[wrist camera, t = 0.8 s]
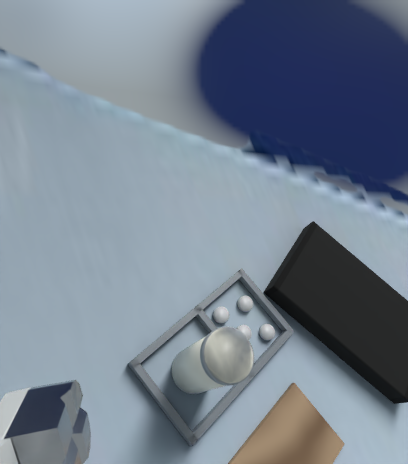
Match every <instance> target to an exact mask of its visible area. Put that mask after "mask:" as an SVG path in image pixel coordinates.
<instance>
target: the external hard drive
mask: <svg viewBox="0 0 408 464" xmlns="http://www.w3.org/2000/svg"><path fill="white" fill-rule="evenodd" d="M264 293H265V294H266V295H267V296H268V297H269V298H270V299H272V300H273V301H274V302H275V303H276V304H277V305H279V306H280V307H281V308H282V309H283V310H285V311H286V312H287V313H288V314H289V315H290V316H292V317H293V318H294V319H295V320H296V321H297V322H299V323H300V324H301V325H302V326H303V327H305V328H306V329H307V330H308V331H309V332H310V333H312V334H313V335H314V336H315V337H316V338H317V339H319V340H320V341H321V342H322V343H323V344H325V345H326V346H327V347H328V348H329V349H330V350H332V351H333V352H334V353H335V354H336V355H337V356H339V357H340V358H341V359H342V360H343V361H345V362H346V363H347V364H348V365H349V366H350V367H352V368H353V369H354V370H355V371H356V372H357V373H359V374H360V375H361V376H362V377H363V378H365V379H366V380H367V381H368V382H369V383H370V384H372V385H373V386H374V387H375V388H376V389H377V390H379V391H380V392H381V393H382V394H383V395H385V396H386V397H387V398H388V399H389V400H390V401H392V402H393V403H394V404H395V403H405V402H408V301H407V300H406V299H405V298H404V297H403V296H401V295H400V294H399V293H398V292H397V291H395V290H394V289H393V288H392V287H391V286H389V285H388V284H387V283H386V282H385V281H384V280H382V279H381V278H380V277H379V276H378V275H376V274H375V273H374V272H373V271H372V270H371V269H369V268H368V267H367V266H366V265H365V264H363V263H362V262H361V261H360V260H359V259H357V258H356V257H355V256H354V255H353V254H352V253H350V252H349V251H348V250H347V249H346V248H344V247H343V246H342V245H341V244H340V243H339V242H337V241H336V240H335V239H334V238H333V237H331V236H330V235H329V234H328V233H327V232H325V231H324V230H323V229H322V228H321V227H320V226H318V225H317V224H316V223H315V222H314V221H313V222H311V223H310V224H309V225H308V226H306V227H305V228H304V229H303V231H302V232H301V234H300V235H299V237H298V239H297V240H296V242H295V243H294V245H293V247H292V248H291V250H290V251H289V253H288V254H287V256H286V258H285V259H284V261H283V262H282V264H281V266H280V267H279V269H278V270H277V272H276V274H275V275H274V277H273V278H272V280H271V281H270V283H269V285H268V286H267V288H266V289H265V291H264Z"/></svg>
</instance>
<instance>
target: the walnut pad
mask: <svg viewBox="0 0 408 464" xmlns="http://www.w3.org/2000/svg"><path fill="white" fill-rule="evenodd" d="M343 446H344V443H343V441H342V440H341V439H340V438H339V436H338V435H337V434H336V433H335V432H334V430H333V429H332V428H331V427H330V425H329V424H328V423H327V422H326V421H325V419H324V418H323V417H322V416H321V415H320V413H319V412H318V411H317V410H316V408H315V407H314V406H313V405H312V404H311V402H310V401H309V400H308V399H307V397H306V396H305V395H304V394H303V393H302V391H301V390H300V389H299V388H298V387H297V385H296V384H295V383H292V384H291V385H290V386H289V387H288V389H287V390H286V391H285V393H284V394H283V395H282V396H281V398H280V399H279V400H278V401H277V403H276V404H275V405H274V406H273V408H272V409H271V410H270V411H269V413H268V414H267V415H266V416H265V418H264V419H263V420H262V421H261V423H260V424H259V425H258V426H257V428H256V429H255V430H254V431H253V433H252V434H251V435H250V436H249V438H248V439H247V440H246V441H245V443H244V444H243V445H242V446H241V448H240V449H239V450H238V452H237V453H236V454H235V455H234V457H233V458H232V459H231V460H230V462H229V463H228V464H333V462H334V460H335V459H336V457H337V455H338V454H339V452H340V451H341V449H342V447H343Z"/></svg>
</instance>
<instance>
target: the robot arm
mask: <svg viewBox="0 0 408 464" xmlns="http://www.w3.org/2000/svg"><path fill="white" fill-rule="evenodd" d="M82 397H83V395H82V391H81V388H80V384H79V383H78V382H77V380H72V381H66V382H61V383H55V384H49V385H43V386H38V387H32V388H25V389H21V390H16V391H11V392H8V393H6V394H5V395H4V397H3V398H2V400H1V402H0V464H83V463H84V462H85V461H86V460H87V459H88V457H89V451H90V439H91V432H90V424H89V419H88V415H87V412H86V411H84V410H83V409H82V408H80V405H81V401H82Z"/></svg>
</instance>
